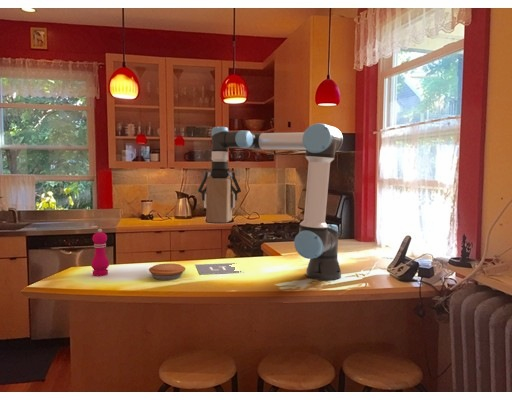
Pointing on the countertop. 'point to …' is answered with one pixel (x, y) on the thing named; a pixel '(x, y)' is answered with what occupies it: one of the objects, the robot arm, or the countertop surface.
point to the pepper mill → (100, 254)
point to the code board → (215, 268)
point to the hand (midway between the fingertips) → (219, 207)
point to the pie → (167, 271)
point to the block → (218, 200)
